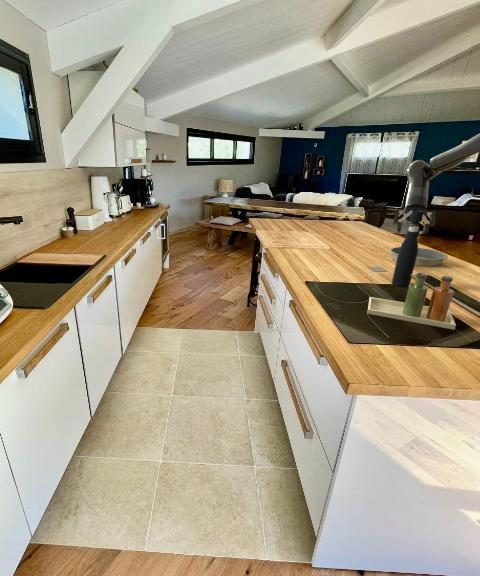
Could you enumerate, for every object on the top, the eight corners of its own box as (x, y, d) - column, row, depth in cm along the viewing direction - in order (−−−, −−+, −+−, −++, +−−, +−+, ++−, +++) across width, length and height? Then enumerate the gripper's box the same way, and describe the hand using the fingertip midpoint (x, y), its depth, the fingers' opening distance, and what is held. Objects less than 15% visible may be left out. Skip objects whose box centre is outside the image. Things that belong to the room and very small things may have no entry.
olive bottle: (419, 313, 104) (430, 273, 99) (420, 318, 100) (432, 277, 95) (401, 309, 107) (411, 271, 102) (402, 315, 103) (412, 275, 98)
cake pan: (390, 264, 157) (392, 255, 156) (386, 252, 178) (387, 245, 176) (451, 270, 147) (454, 261, 146) (438, 257, 168) (441, 249, 166)
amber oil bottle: (443, 317, 101) (456, 276, 96) (446, 323, 97) (459, 281, 92) (425, 313, 104) (436, 274, 99) (426, 319, 100) (438, 278, 95)
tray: (447, 315, 104) (449, 309, 103) (454, 331, 94) (456, 325, 93) (368, 301, 115) (369, 296, 114) (367, 314, 105) (368, 309, 104)
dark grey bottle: (390, 280, 135) (406, 210, 125) (408, 282, 133) (426, 210, 122) (392, 285, 130) (409, 212, 119) (410, 287, 127) (429, 212, 116)
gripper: (398, 194, 133) (392, 225, 128) (439, 195, 126) (435, 228, 121) (395, 206, 139) (390, 236, 134) (434, 207, 132) (430, 239, 127)
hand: (411, 232), depth 127 cm, fingers open, 8 cm apart
